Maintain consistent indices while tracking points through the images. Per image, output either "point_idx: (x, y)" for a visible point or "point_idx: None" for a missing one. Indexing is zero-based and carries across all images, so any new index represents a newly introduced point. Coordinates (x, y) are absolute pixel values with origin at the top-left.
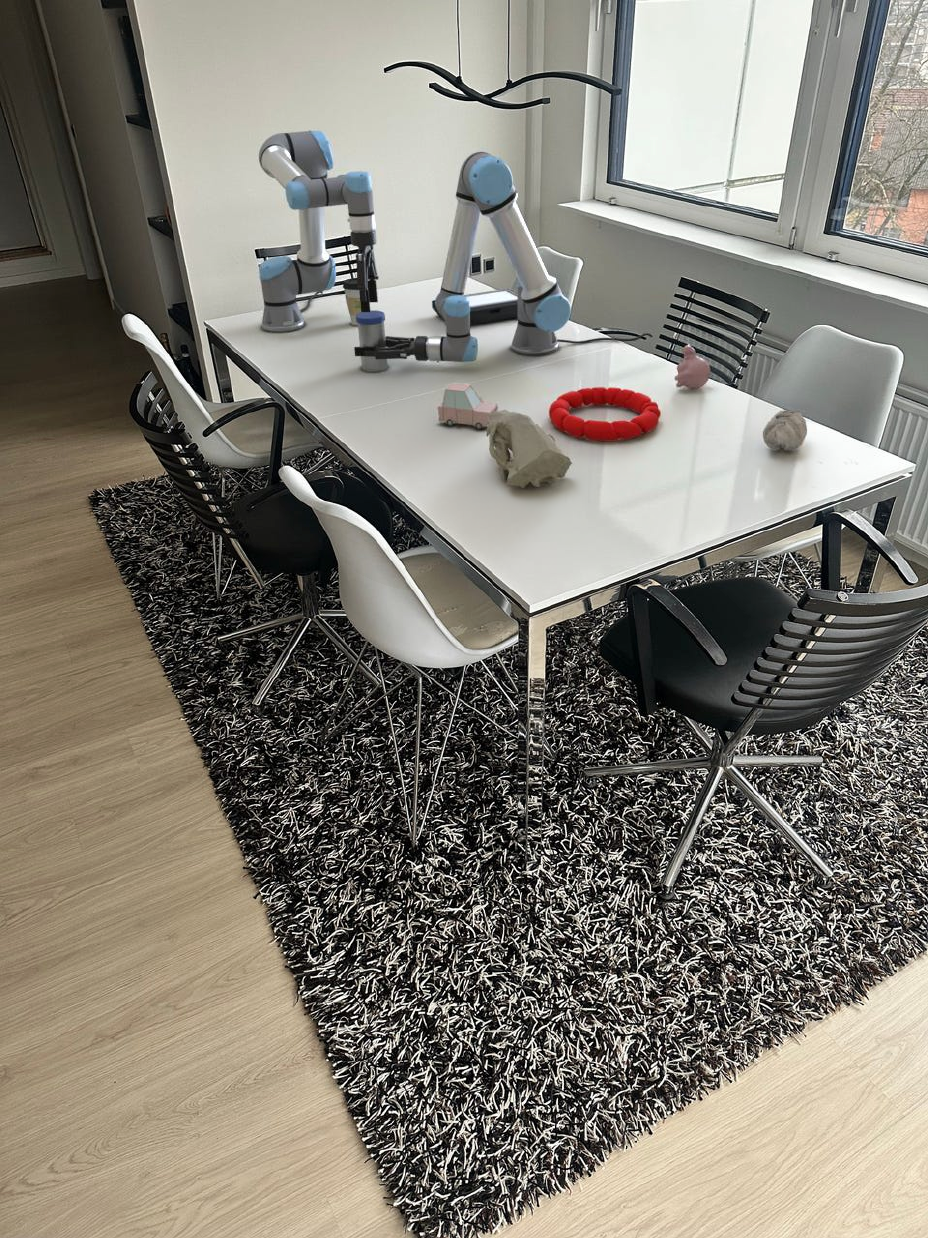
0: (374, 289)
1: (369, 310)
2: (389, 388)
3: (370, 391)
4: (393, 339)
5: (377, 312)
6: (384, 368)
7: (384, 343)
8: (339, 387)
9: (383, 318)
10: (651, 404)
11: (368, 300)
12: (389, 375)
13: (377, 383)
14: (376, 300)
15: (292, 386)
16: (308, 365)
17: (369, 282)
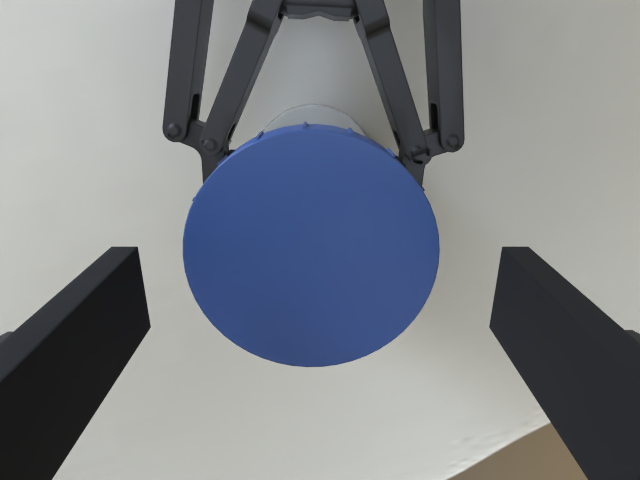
0: (75, 340)
1: (536, 256)
2: (599, 35)
3: (622, 120)
4: (195, 84)
5: (245, 209)
6: (342, 112)
7: (329, 117)
8: (550, 258)
9: (340, 130)
10: None
11: (595, 312)
12: (419, 71)
13: (523, 108)
14: (131, 262)
15: (516, 412)
16: (298, 415)
17: (29, 473)
